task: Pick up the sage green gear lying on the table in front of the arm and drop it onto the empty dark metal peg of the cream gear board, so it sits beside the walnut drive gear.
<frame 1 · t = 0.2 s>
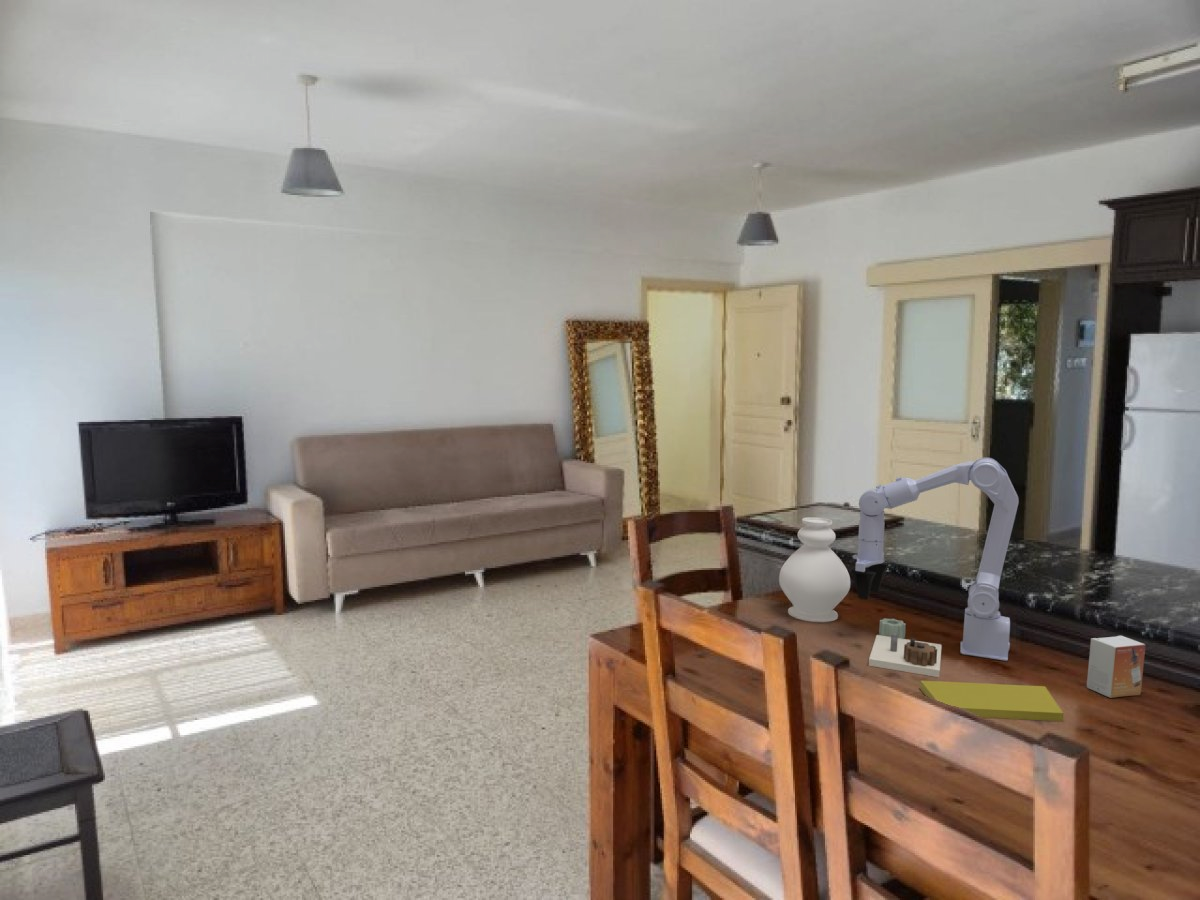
hand: (868, 595, 187), 10 cm above the table, tool pointing down, fingers open, 7 cm apart
decorative vase: (812, 615, 202), on the table
small box: (1113, 692, 156), on the table
sage gear: (891, 635, 187), on the table
drive gear: (920, 650, 167), point 4 cm above the table, hinge at 0.0°
flat olive board: (994, 708, 149), on the table
gear board: (905, 658, 172), on the table
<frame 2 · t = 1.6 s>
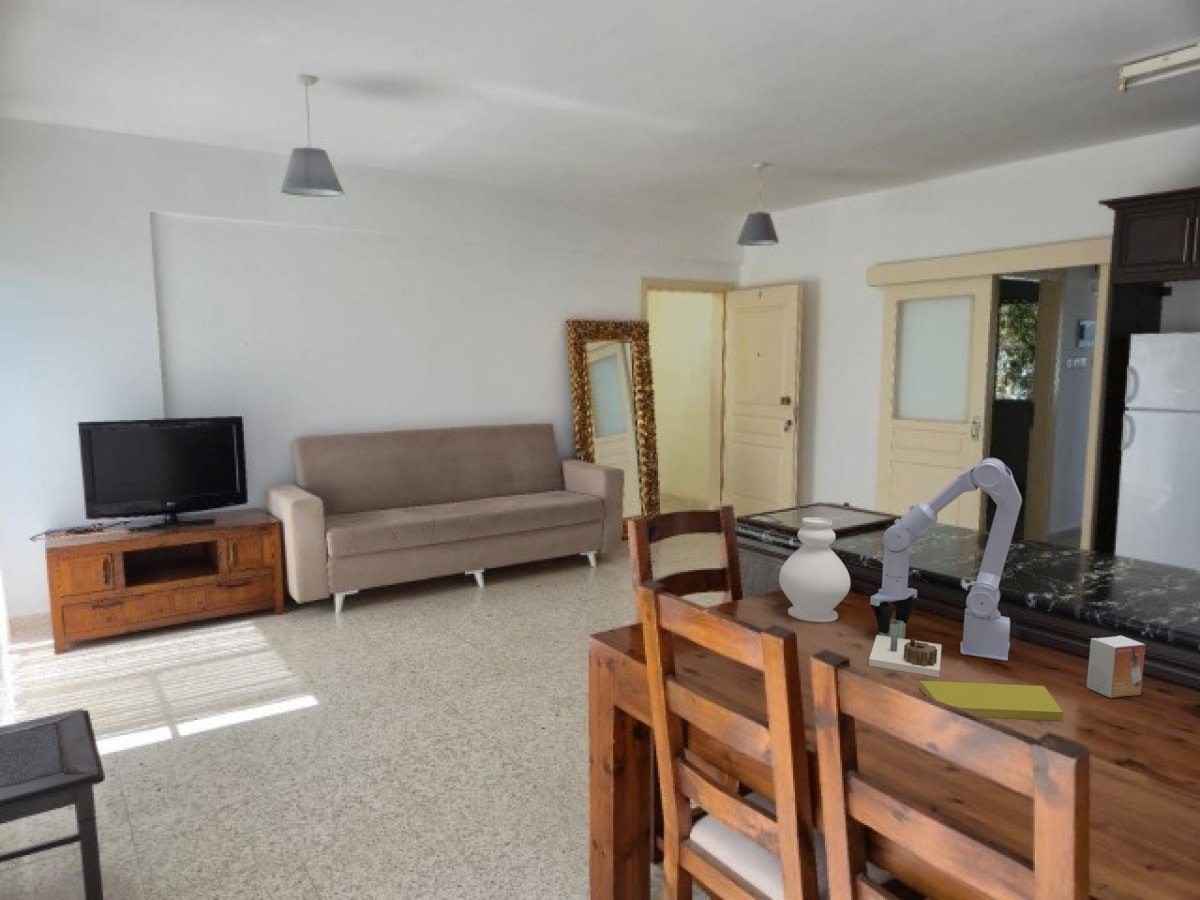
hand: (892, 630, 187), 1 cm above the table, tool pointing down, fingers closed on sage gear, 6 cm apart
sage gear: (891, 635, 187), on the table, touching gripper
everything else where it was.
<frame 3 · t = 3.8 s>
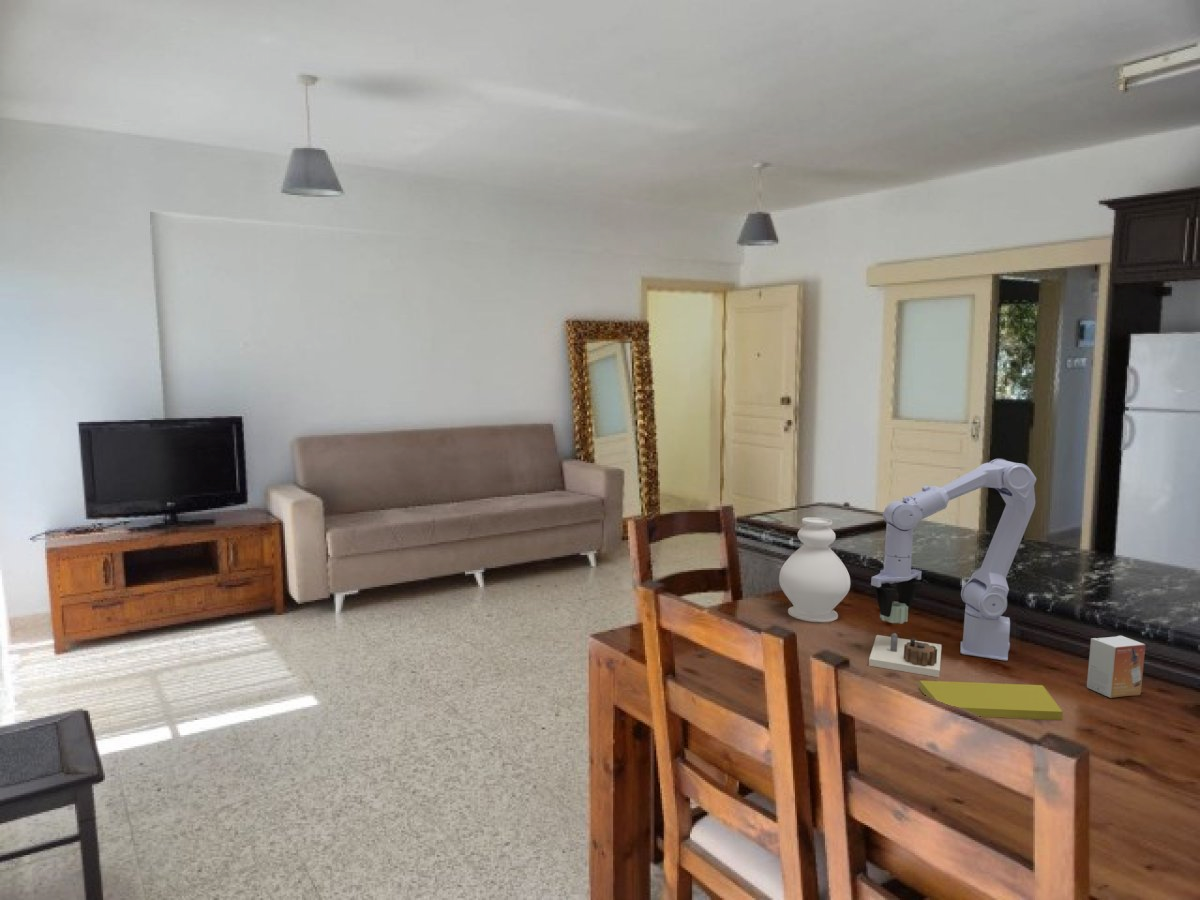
hand: (894, 613, 176), 9 cm above the table, tool pointing down, fingers closed on sage gear, 6 cm apart
sage gear: (893, 619, 177), point 7 cm above the table, touching gripper
everything else where it was.
when the fingers open (4 cm above the table, at t = 5.9 s): sage gear stays where it is, resting on gear board.
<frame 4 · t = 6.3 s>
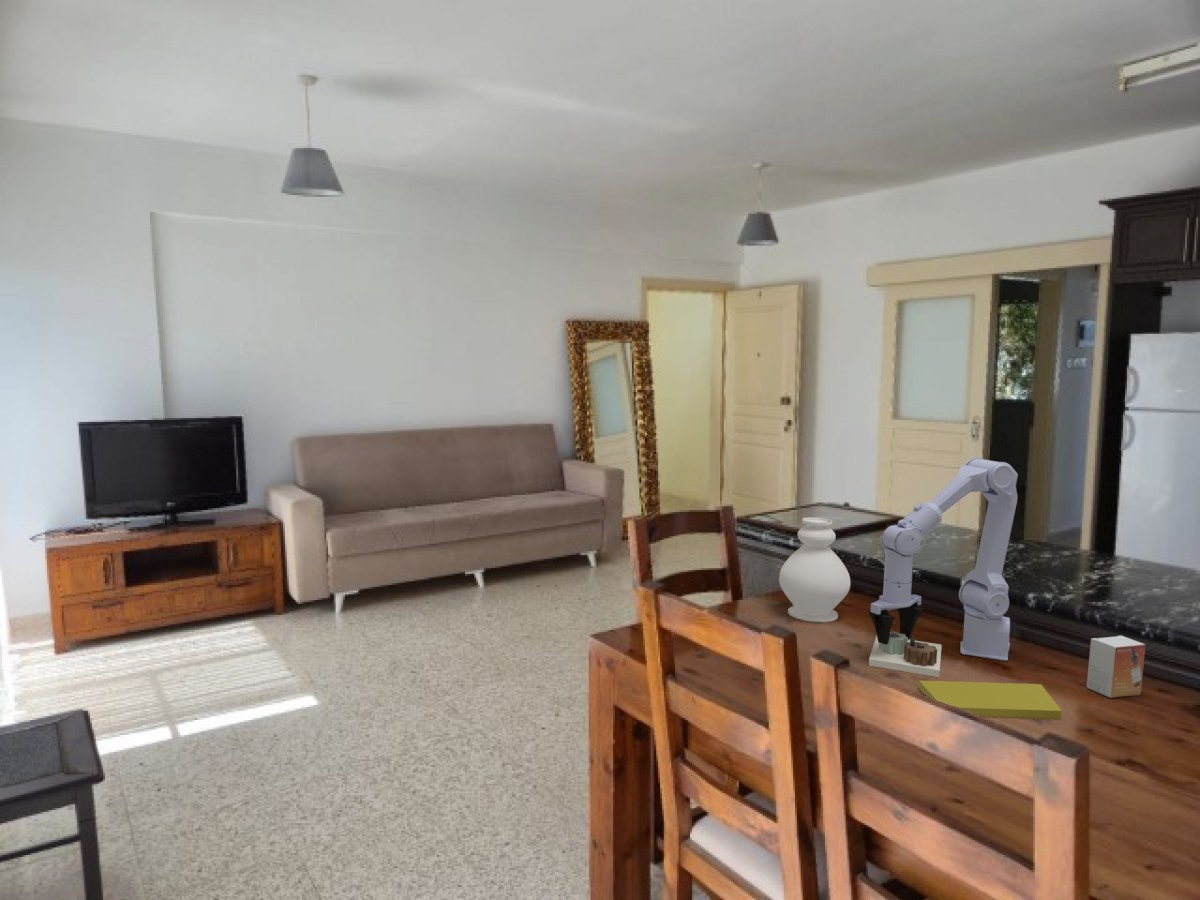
hand: (894, 640, 173), 4 cm above the table, tool pointing down, fingers open, 7 cm apart
sage gear: (892, 650, 173), point 1 cm above the table, touching gear board
everything else where it was.
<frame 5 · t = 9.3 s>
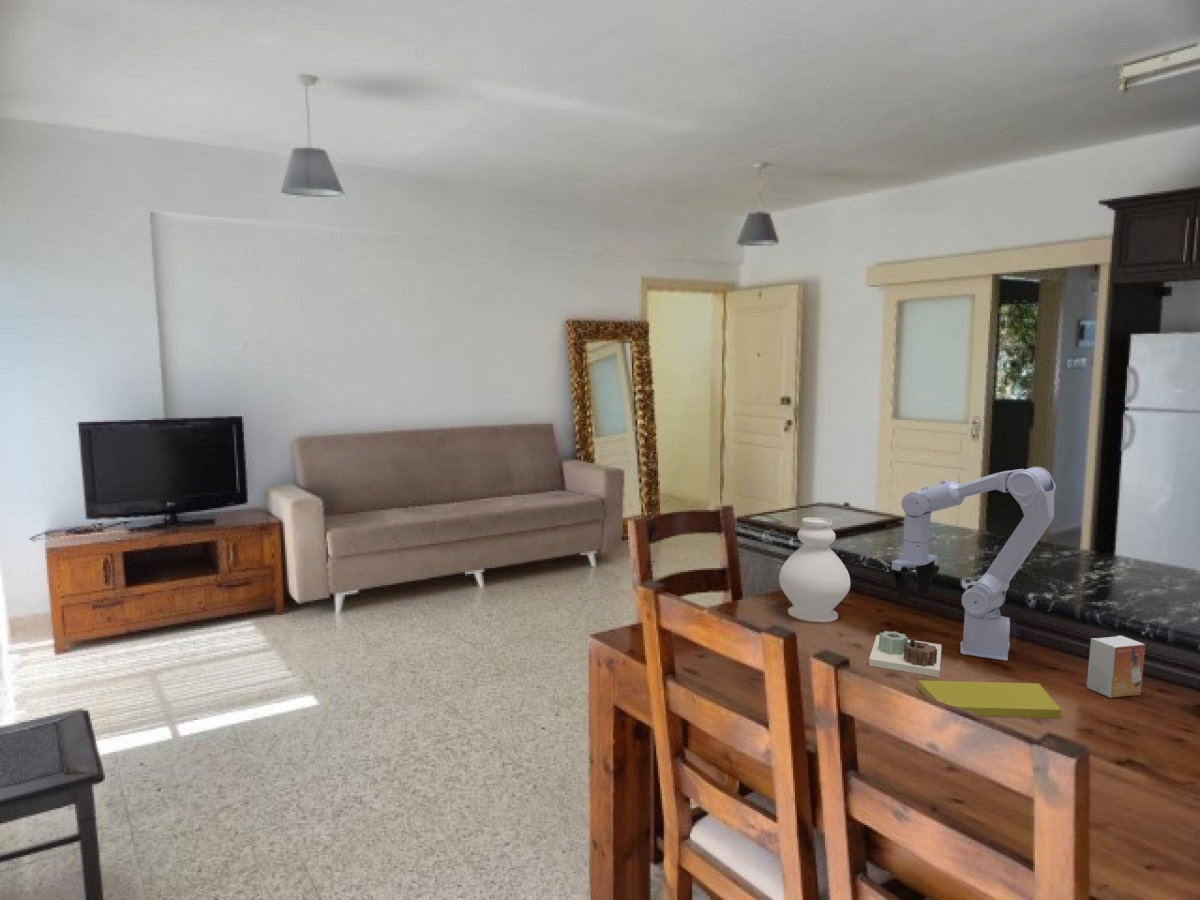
hand: (913, 595, 188), 9 cm above the table, tool pointing down, fingers open, 7 cm apart
nothing on the table moved.
at the end: sage gear 0.2 cm from the target spot on the gear board, point 1.5 cm above the gear board's base; sage gear tilted 0°; the gripper is holding nothing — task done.
